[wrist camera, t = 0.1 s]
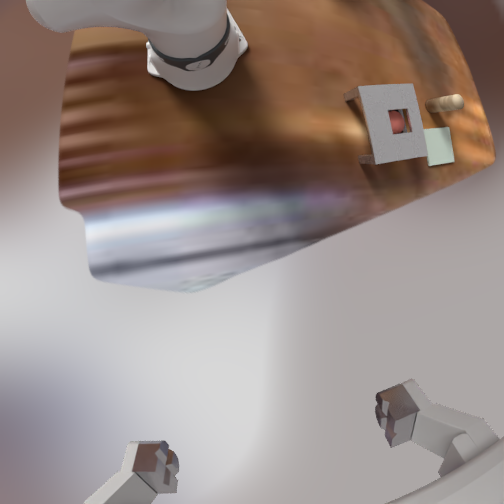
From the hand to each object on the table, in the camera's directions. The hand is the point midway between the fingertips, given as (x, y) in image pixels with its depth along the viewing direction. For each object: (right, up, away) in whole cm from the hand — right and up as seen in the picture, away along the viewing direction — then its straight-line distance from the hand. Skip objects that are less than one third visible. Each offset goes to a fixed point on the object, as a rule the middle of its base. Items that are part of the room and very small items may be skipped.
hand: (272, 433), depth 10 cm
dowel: (+38, +38, +41) cm, 68 cm away
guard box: (+25, +32, +42) cm, 59 cm away
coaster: (+40, +30, +44) cm, 67 cm away
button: (+25, +31, +40) cm, 57 cm away
